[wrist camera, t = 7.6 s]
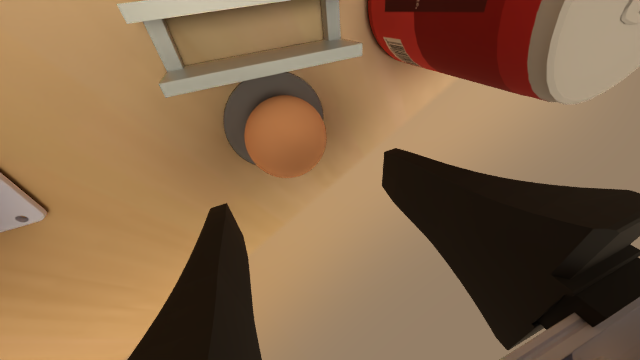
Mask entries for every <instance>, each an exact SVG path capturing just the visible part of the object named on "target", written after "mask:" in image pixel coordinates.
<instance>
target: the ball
mask: <svg viewBox="0 0 640 360" xmlns="http://www.w3.org/2000/svg"><path fill="white" fill-rule="evenodd" d="M244 138H245V145H246V149H247V151H248V153H249V155H250V157H251V159H252V160H253V162H254V163H255V164H256V165H257V166H258V167H259V168H260V169H262V170H263V171H265V172H266V173H268V174H270V175H273V176H276V177H281V178H292V177H297V176H300V175H303V174H305V173H307V172H308V171H310V170H311V169H312V168H313V167H314V166H315V165H316V164H317V163H318V162H319V160H320V159H321V157H322V155H323V153H324V150H325V146H326V129H325V125H324V122H323V120H322V118H321V116H320V114H319V113H318V112H317V110H316V109H315V108H314V107H313V106H312V105H310V104H309V103H308V102H306V101H304V100H303V99H300V98H298V97H294V96H288V95H280V96H274V97H271V98H269V99H267V100H265V101H263V102H262V103H260V104H259V105H258V106H257V107H256V108H255V109H254V110H253V111H252V112H251V114H250V116H249V118H248V120H247V123H246V126H245V132H244Z"/></svg>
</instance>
